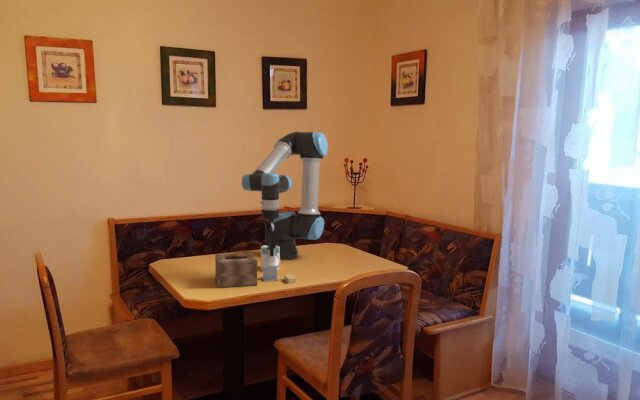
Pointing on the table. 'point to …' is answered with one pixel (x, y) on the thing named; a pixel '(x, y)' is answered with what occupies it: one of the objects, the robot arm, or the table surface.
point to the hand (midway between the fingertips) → (270, 261)
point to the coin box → (236, 270)
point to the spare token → (289, 278)
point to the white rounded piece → (265, 263)
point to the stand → (269, 273)
